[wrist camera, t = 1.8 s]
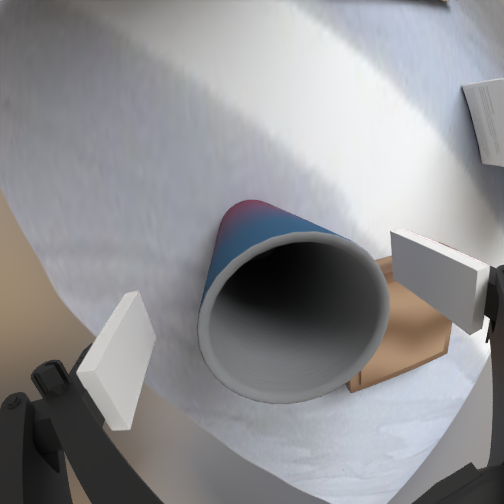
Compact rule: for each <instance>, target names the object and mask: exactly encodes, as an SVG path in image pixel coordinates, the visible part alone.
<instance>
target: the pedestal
mask: <svg viewBox="0 0 504 504" xmlns="http://www.w3.org/2000/svg"><path fill="white" fill-rule="evenodd" d="M438 243H440V242H438ZM440 244H442V243H440ZM442 245H445V244H442ZM445 246H447V245H445ZM447 247H449V246H447ZM450 248H451V247H450ZM452 249H453V248H452ZM454 250H456V249H454ZM457 251H458V250H457ZM375 261H376V263H377V264H378V265H379V267H380V269H381V271H382V273H383V275H384V277H385V279H386V283H387V287H388V291H389V295H390V314H389V319H388V325H387V329H386V331H385V334H384V336H383V339H382V342H381V344H380V345H379V347H378V349H377V350H376V352H375V354H374V355H373V357H372V358H371V359H370V361H369V362H368V363H367V364H366V365H365V367H364V368H363V369H362V370H361V371H360V372H359V373H358V374H356V375H355V376H354V377H353V378H352V379H351V380H350V381H348V382H347V383H345V384H346V386H347V388H348V389H349V391H350V393H353V392H356V391H359V390H362V389H364V388H367V387H370V386H373V385H375V384H378V383H381V382H383V381H386V380H388V379H391V378H393V377H396V376H398V375H401V374H403V373H405V372H408V371H410V370H412V369H415V368H417V367H419V366H421V365H424V364H426V363H428V362H430V361H432V360H434V359H437V358H439V357H441V356H443V355H445V354H447V352H448V346H449V340H450V334H451V327H452V321H451V320H449V319H448V318H447V317H445V316H444V315H443V314H441V313H440V312H438V311H437V310H436V309H434V308H433V307H432V306H430V305H429V304H428V303H426V302H425V301H423V300H422V299H421V298H419V297H418V296H417V295H415V294H414V293H412V292H411V291H410V290H408V289H407V288H405V287H404V286H402V285H401V284H400V283H398V282H397V281H395V280H394V279H393V265H392V256H389V257H386V258H382V259H378V260H375Z"/></svg>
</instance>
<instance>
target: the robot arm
mask: <svg viewBox="0 0 504 504" xmlns="http://www.w3.org/2000/svg"><path fill="white" fill-rule="evenodd" d="M390 234H391V247H392V265H393V279H394V280H395V281H397V282H398V283H400V284H401V285H402V286H404V287H405V288H407V289H408V290H410V291H411V292H412V293H414V294H415V295H417V296H418V297H419V298H421V299H422V300H423V301H425V302H426V303H428V304H429V305H430V306H432V307H433V308H434V309H436V310H437V311H438V312H440V313H441V314H443V315H444V316H445V317H447V318H448V319H449V320H451V321H452V322H453V323H455V324H456V325H457V326H458V327H460V328H461V329H462V330H464V331H465V332H466V333H468V334H469V335H471V334H473V333H475V332H477V331H478V330H480V329H482V326H483V320H484V315H485V316H487V317H488V318H490V322H489V327H488V333H487V337H486V342H485V343H488V340H489V339H490V346H491V358H492V376H493V420H492V437H491V438H492V439H491V449H490V458H489V462H488V465H487V467H485V468H481V469H476V468H475V466H474V465H473V464H472V463H469V464H467V465H466V466H464V467H463V468H461V469H460V470H458V471H456V472H455V473H453V474H451V475H450V476H448V477H446V478H445V479H443V480H441V481H439V482H438V483H436V484H435V485H434V486H432V487H431V488H430V489H429V490H428V491H427V492H425V493H424V494H423V495H422V496H421V497H419V498H418V499H417V500H416V501H414V502H413V503H412V504H504V265H501V266H499V267H498V268H497V269H496V268H494V267H492V266H490V265H488V264H486V263H483V262H481V261H479V260H477V259H475V258H472V257H470V256H468V255H466V254H463V253H461V252H459V251H457V250H454V249H452V248H450V247H447V246H445V245H442V244H440V243H438V242H435V241H433V240H430V239H428V238H426V237H423V236H421V235H418V234H416V233H413V232H411V231H408V230H405V229H403V228H400V229H396V230H392V231H390ZM156 338H157V337H156V335H155V332H154V330H153V327H152V324H151V322H150V319H149V317H148V314H147V311H146V309H145V306H144V303H143V300H142V297H141V295H140V292H139V290H138V291H133V292H129V293H125V295H124V296H123V298H122V299H121V301H120V302H119V304H118V305H117V307H116V308H115V310H114V311H113V313H112V314H111V316H110V318H109V319H108V321H107V322H106V324H105V325H104V327H103V329H102V330H101V332H100V333H99V335H98V337H97V338H96V340H95V342H94V343H91V344H90V345H89V346H88V347H87V348H86V349H84V350H83V352H82V353H81V355H80V357H79V359H78V360H77V362H76V365H74V366H73V368H72V370H71V371H70V373H69V375H68V373H67V371H66V369H65V367H64V366H63V364H62V362H61V361H59V360H51V361H48V362H45V363H43V364H41V365H40V366H38V367H37V368H36V369H35V370H34V371H33V373H32V374H31V379H32V381H33V383H34V384H35V386H36V388H37V389H38V391H39V392H40V394H41V395H42V397H43V399H40V400H37V401H33V402H31V401H30V400H29V398H28V397H27V395H26V394H25V393H23V392H18V393H14V394H11V395H9V397H7V398H6V399H5V401H4V402H3V403H2V405H1V408H0V504H73V503H72V498H71V493H70V488H69V482H68V476H67V470H66V463H65V455H64V452H65V454H66V456H67V458H68V460H69V462H70V464H71V466H72V468H73V470H74V472H75V474H76V476H77V478H78V480H79V482H80V484H81V485H82V487H83V489H84V491H85V493H86V494H87V496H88V498H89V500H90V501H91V503H92V504H164V503H163V502H162V501H161V500H160V499H159V498H158V497H157V496H156V494H155V493H154V492H153V491H152V490H151V489H150V488H149V487H148V486H147V484H146V483H145V482H144V481H143V480H142V479H141V478H140V476H139V475H138V474H137V473H136V472H135V470H133V468H132V467H131V465H130V464H129V463H128V462H127V460H126V459H125V458H124V457H123V455H122V454H121V453H120V452H119V450H118V449H117V448H116V446H115V445H114V444H113V442H112V441H111V440H110V438H109V437H108V435H107V434H106V432H105V431H104V430H103V428H102V426H103V423H104V421H106V422H107V424H108V425H109V427H110V428H111V429H112V431H114V430H130V429H131V425H132V421H133V417H134V414H135V410H136V406H137V402H138V399H139V395H140V392H141V388H142V384H143V381H144V378H145V374H146V371H147V367H148V364H149V361H150V357H151V354H152V351H153V347H154V344H155V341H156Z"/></svg>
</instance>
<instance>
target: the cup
mask: <svg viewBox="0 0 504 504" xmlns="http://www.w3.org/2000/svg"><path fill="white" fill-rule="evenodd" d="M389 314H390V295H389V291H388V287H387V283H386V279H385V277H384V275H383V273H382V271H381V269H380V267H379V265H378V264H377V263H376V261H375V260H374V259H373V258H372V257H371V256H370V254H369V253H368V252H367V251H365V250H364V249H363V248H361V247H360V246H358V245H357V244H356V243H354V242H353V241H351V240H349V239H346V238H344V237H342V236H340V235H338V234H336V233H333V232H331V231H329V230H327V229H325V228H322V227H320V226H318V225H316V224H314V223H311V222H309V221H307V220H305V219H302V218H300V217H298V216H295V215H293V214H291V213H289V212H286V211H284V210H282V209H279V208H277V207H275V206H272V205H270V204H268V203H265V202H262V201H259V200H246V201H242V202H240V203H237V204H235V205H234V206H233V207H231V208H230V209H229V210H228V211H227V212H226V214H225V215H224V217H223V219H222V222H221V225H220V229H219V233H218V236H217V240H216V244H215V248H214V252H213V256H212V260H211V264H210V268H209V272H208V276H207V280H206V285H205V289H204V293H203V297H202V301H201V306H200V310H199V316H198V325H197V335H198V343H199V348H200V351H201V354H202V356H203V359H204V361H205V363H206V365H207V366H208V368H209V369H210V371H211V372H212V374H213V375H214V376H215V377H216V378H217V379H218V380H219V381H220V382H221V383H222V384H223V385H224V386H225V387H227V388H228V389H230V390H232V391H233V392H235V393H237V394H238V395H240V396H243V397H246V398H249V399H251V400H254V401H259V402H264V403H270V404H291V403H298V402H304V401H308V400H311V399H315V398H318V397H321V396H323V395H325V394H327V393H330V392H332V391H334V390H336V389H337V388H339V387H340V386H342V385H344V384H345V383H347V382H348V381H350V380H351V379H352V378H353V377H354V376H355V375H356V374H358V373H359V372H360V371H361V370H362V369H363V368H364V367H365V365H366V364H367V363H368V362H369V361H370V359H371V358H372V357H373V355H374V354H375V352H376V350H377V349H378V347H379V345H380V344H381V342H382V339H383V336H384V334H385V331H386V329H387V325H388V319H389Z"/></svg>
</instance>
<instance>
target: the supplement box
mask: <svg viewBox="0 0 504 504" xmlns="http://www.w3.org/2000/svg"><path fill="white" fill-rule="evenodd" d="M462 87H463V90H464V93H465V96H466V99H467V103H468V106H469V109H470V113H471V117H472V120H473V124H474V128H475V132H476V136H477V141H478V145H479V150H480V155H481V160H482V164H486V165H495V166H502V167H504V78H500V79H493V80H487V81H481V82H475V83H470V84H464V85H462Z"/></svg>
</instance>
